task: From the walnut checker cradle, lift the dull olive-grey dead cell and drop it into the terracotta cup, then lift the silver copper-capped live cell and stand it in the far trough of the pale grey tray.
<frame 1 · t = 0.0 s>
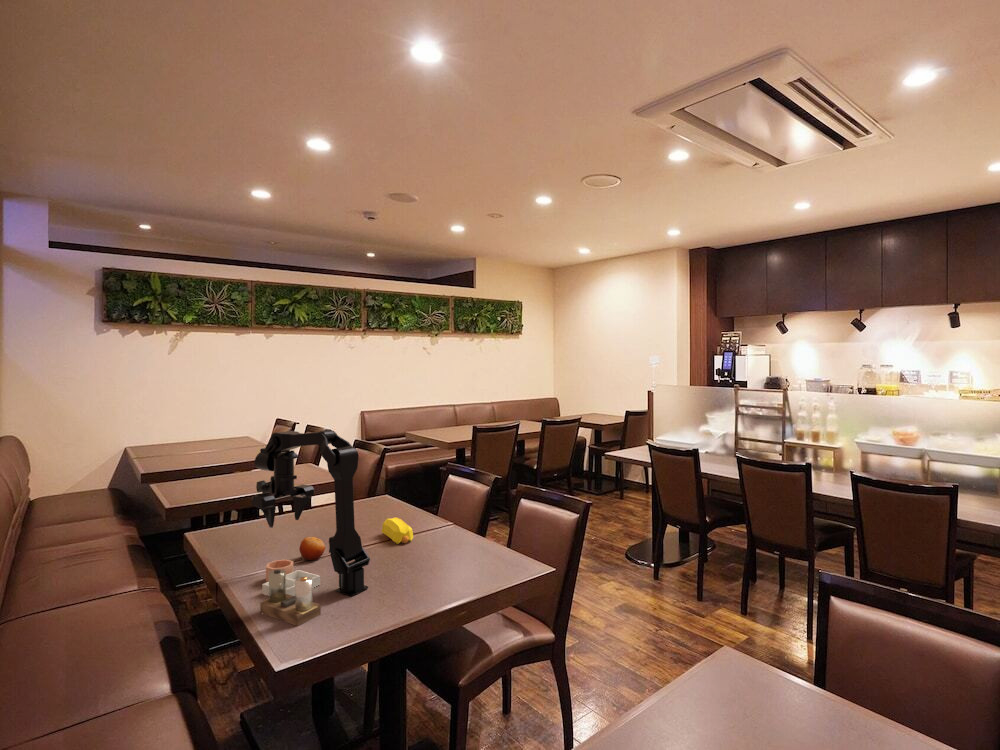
hand: (284, 523, 162), 15 cm above the table, tool pointing down, fingers open, 9 cm apart
cup: (279, 579, 156), on the table
yellow lump: (397, 539, 195), on the table
fruit: (312, 559, 174), on the table
trough tray: (291, 589, 149), on the table
live cell: (303, 608, 132), point 2 cm above the table, touching cradle
dead cell: (277, 599, 137), point 2 cm above the table, touching cradle
cradle: (290, 613, 134), on the table
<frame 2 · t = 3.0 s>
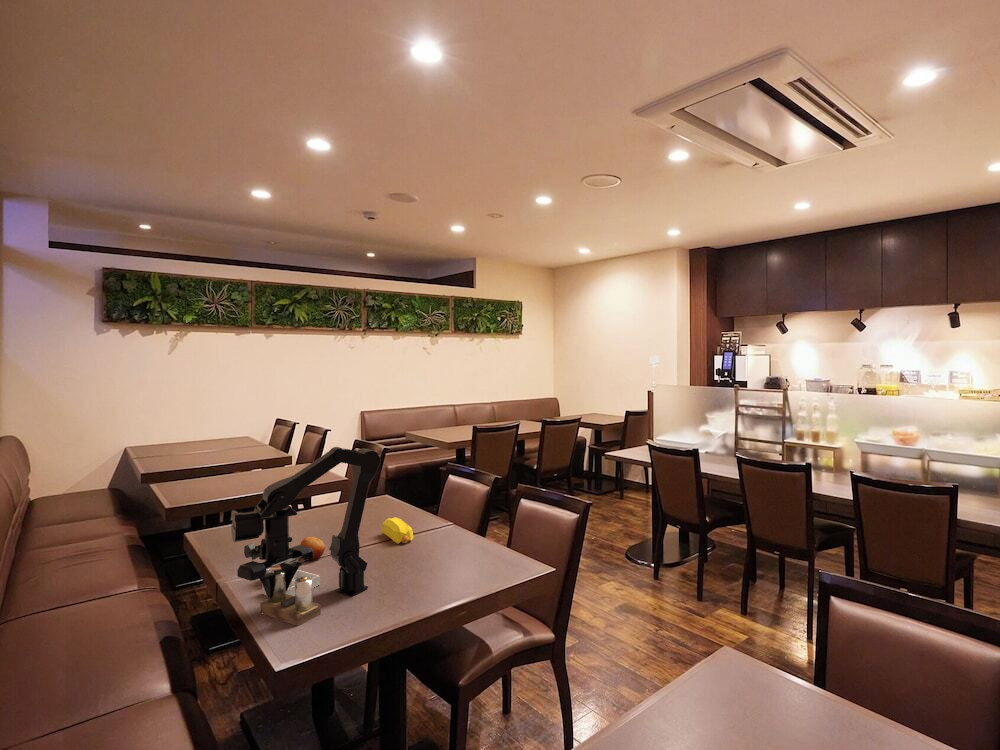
hand: (277, 594, 137), 4 cm above the table, tool pointing down, fingers closed on dead cell, 4 cm apart
dead cell: (277, 599, 137), point 2 cm above the table, touching cradle, gripper
everything else where it was.
when the fingers open (6 cm above the table, at t = 6.6 s): dead cell drops 4 cm, resting on cup.
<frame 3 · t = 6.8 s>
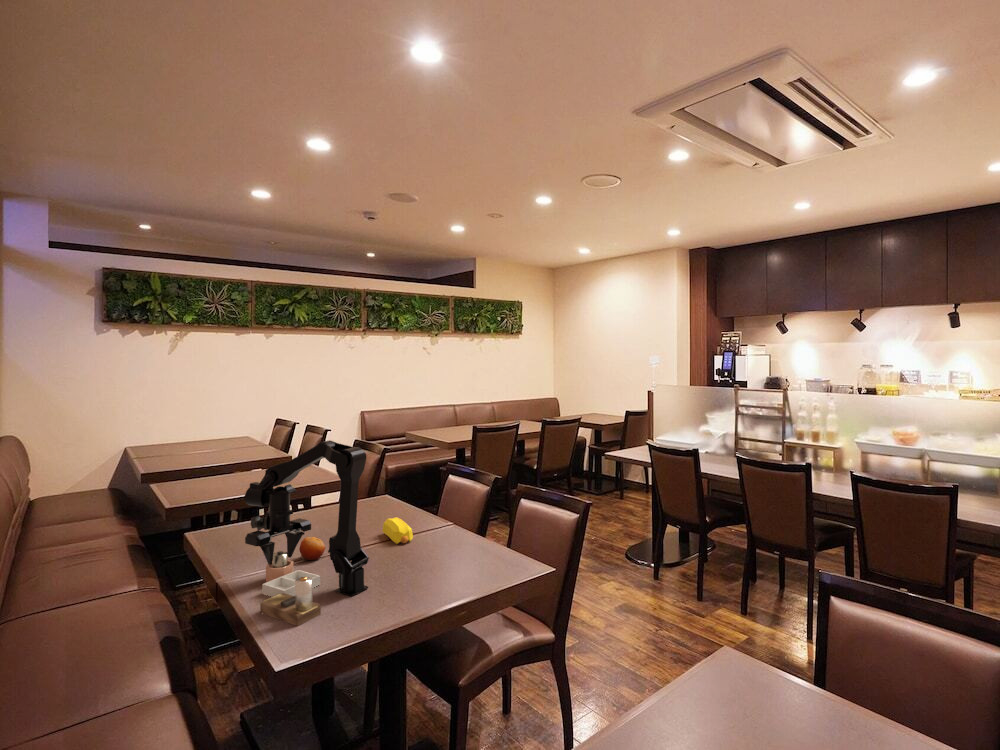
hand: (279, 560, 156), 6 cm above the table, tool pointing down, fingers open, 6 cm apart
dead cell: (279, 577, 156), point 1 cm above the table, touching cup
everything else where it was.
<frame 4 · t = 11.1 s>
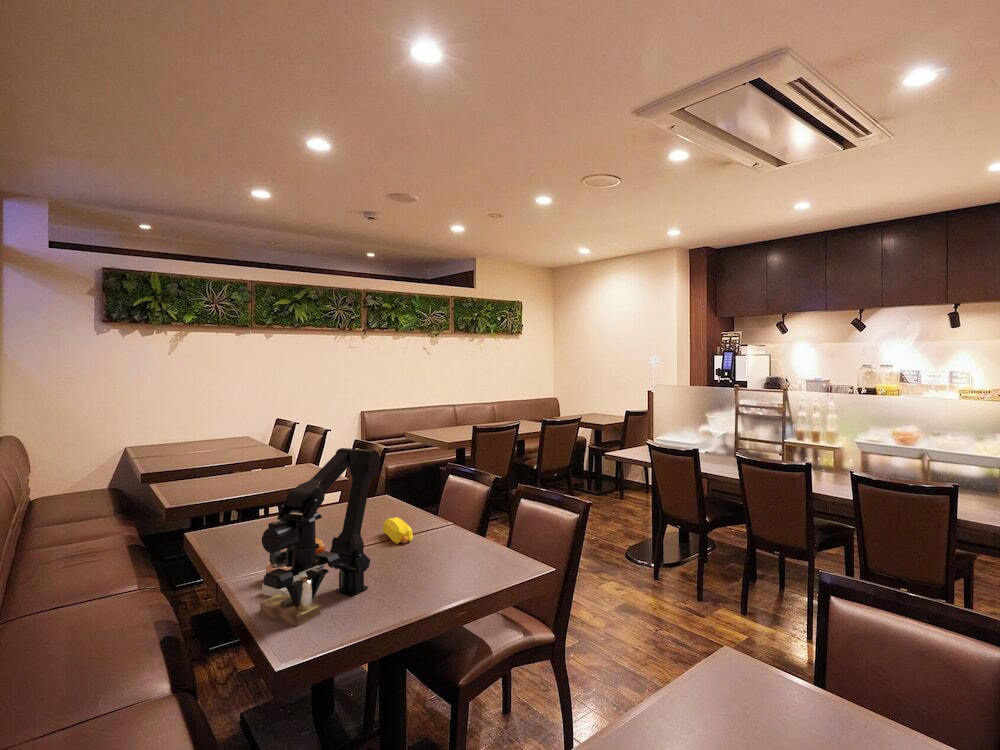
hand: (303, 603, 132), 4 cm above the table, tool pointing down, fingers closed on live cell, 4 cm apart
live cell: (303, 608, 132), point 2 cm above the table, touching cradle, gripper
everything else where it was.
when the fingers open (3 cm above the table, at t = 15.2 s): live cell drops 1 cm, resting on trough tray.
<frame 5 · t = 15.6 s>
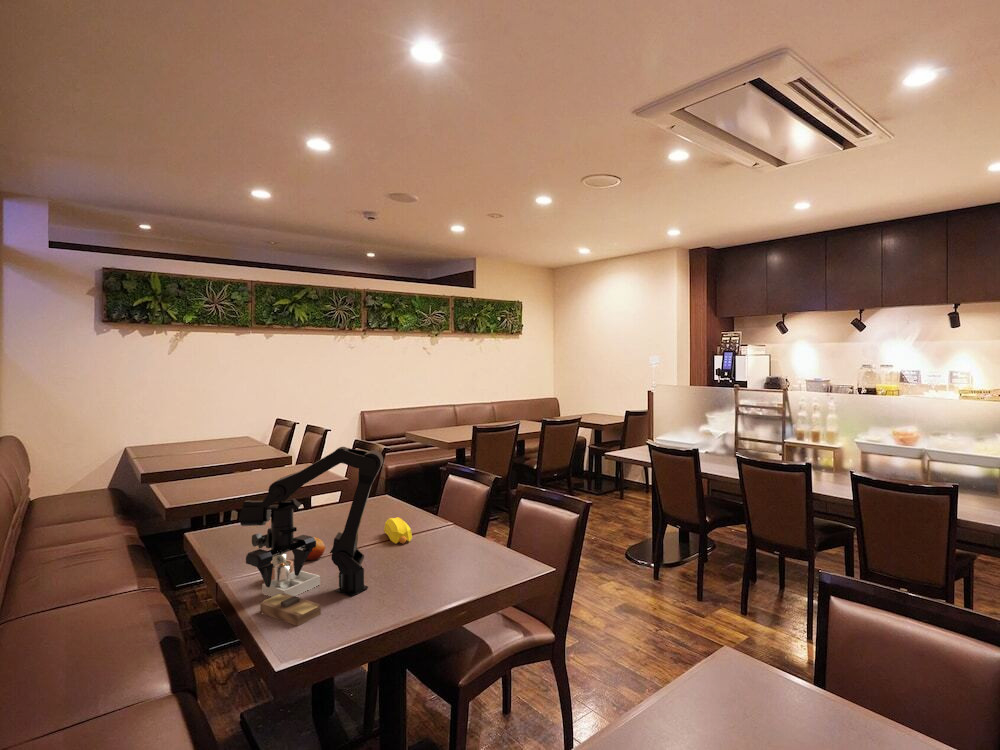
hand: (282, 580, 146), 3 cm above the table, tool pointing down, fingers open, 9 cm apart
live cell: (282, 590, 146), point 1 cm above the table, touching trough tray
everything else where it was.
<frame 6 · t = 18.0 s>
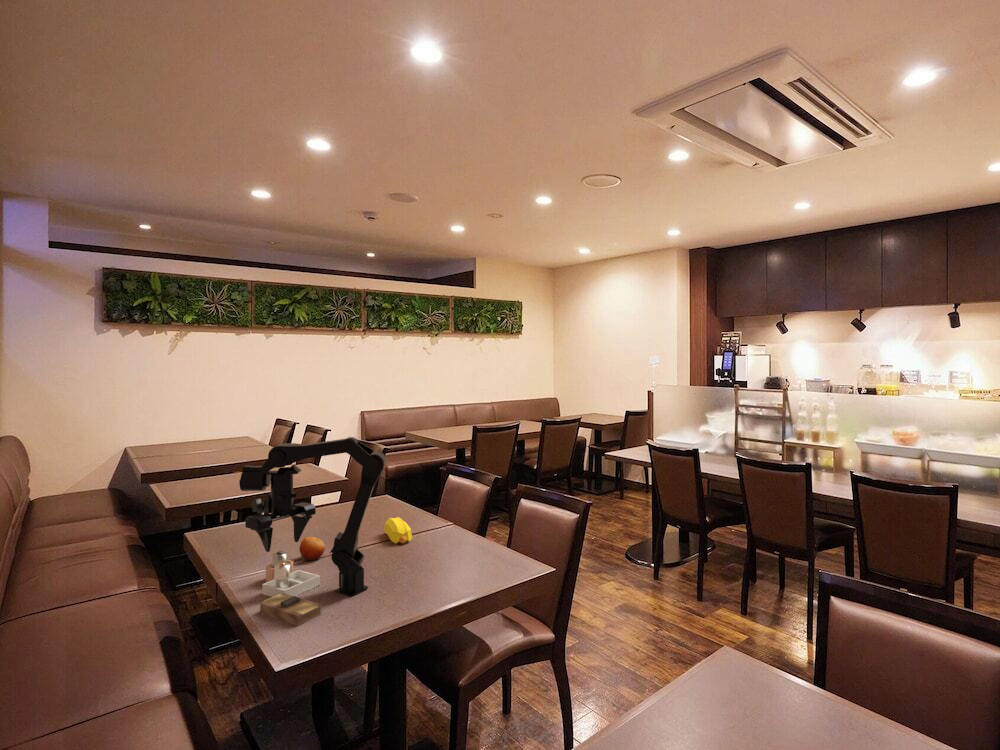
hand: (282, 546, 146), 13 cm above the table, tool pointing down, fingers open, 9 cm apart
nothing on the table moved.
at the end: live cell inside the target area on the trough tray (0.0 cm from its centre), point 0.8 cm above the trough tray's base; dead cell 0.1 cm off-centre on the cup, point 0.6 cm above the cup's base; the gripper is holding nothing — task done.
